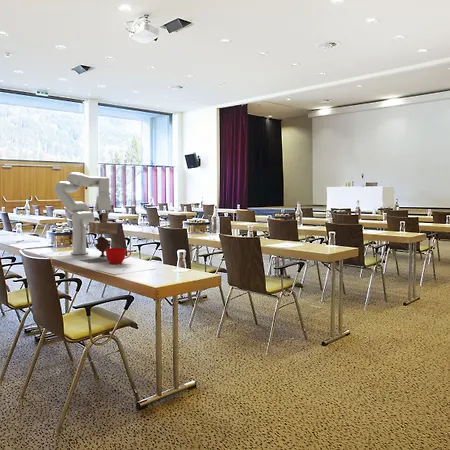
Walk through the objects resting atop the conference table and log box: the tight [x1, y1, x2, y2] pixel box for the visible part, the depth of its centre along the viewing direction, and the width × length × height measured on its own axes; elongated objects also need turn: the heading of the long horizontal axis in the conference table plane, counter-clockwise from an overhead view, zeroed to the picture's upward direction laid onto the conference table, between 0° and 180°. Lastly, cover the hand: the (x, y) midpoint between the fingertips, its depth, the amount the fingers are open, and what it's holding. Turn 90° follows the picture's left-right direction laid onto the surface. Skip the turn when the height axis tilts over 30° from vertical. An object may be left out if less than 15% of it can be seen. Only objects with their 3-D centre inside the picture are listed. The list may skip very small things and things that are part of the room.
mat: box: [78, 257, 109, 264], centre depth 321 cm, size 17×17×1 cm
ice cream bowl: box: [94, 236, 111, 258], centre depth 340 cm, size 11×11×15 cm
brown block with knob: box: [88, 211, 119, 235], centre depth 338 cm, size 15×15×15 cm
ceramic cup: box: [105, 247, 132, 265], centre depth 312 cm, size 13×17×10 cm
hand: (103, 219), depth 338 cm, fingers closed on brown block with knob, 4 cm apart
